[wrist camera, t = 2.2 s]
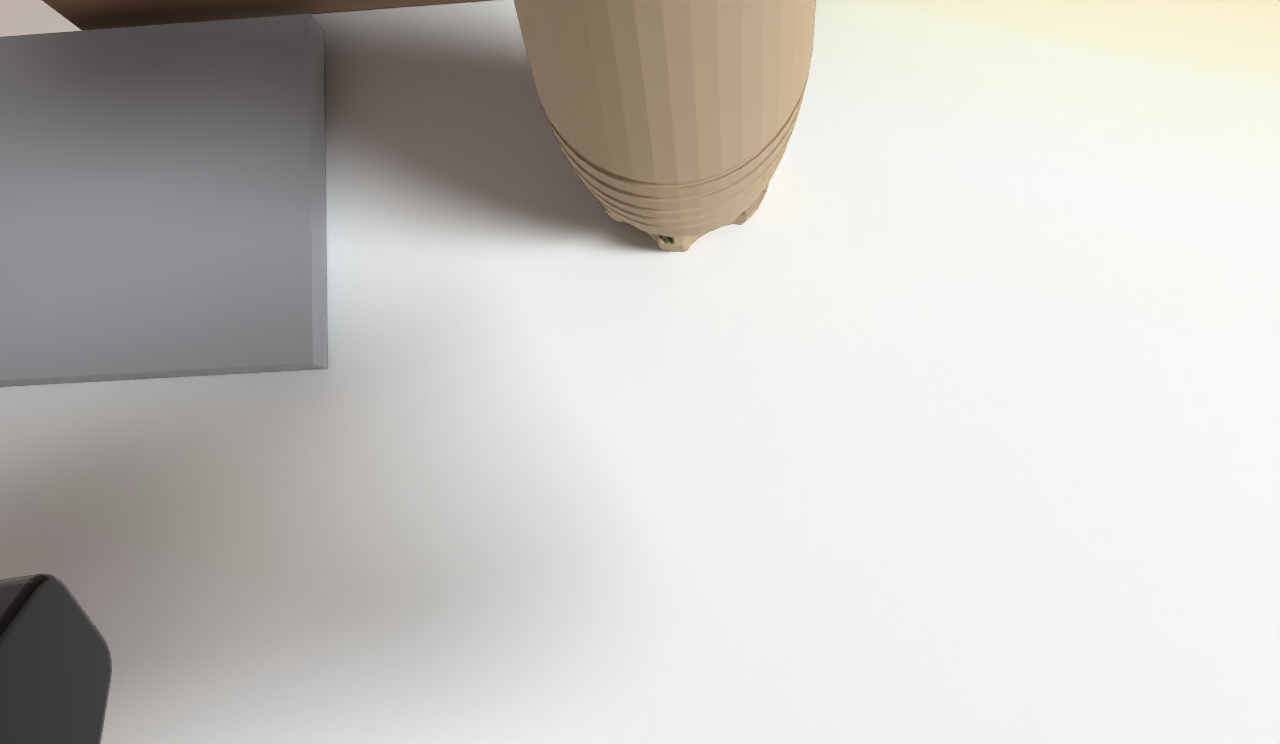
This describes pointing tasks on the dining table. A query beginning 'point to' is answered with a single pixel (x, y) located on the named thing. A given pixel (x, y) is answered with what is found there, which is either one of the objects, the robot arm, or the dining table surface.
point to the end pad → (163, 201)
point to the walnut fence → (205, 10)
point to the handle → (671, 102)
